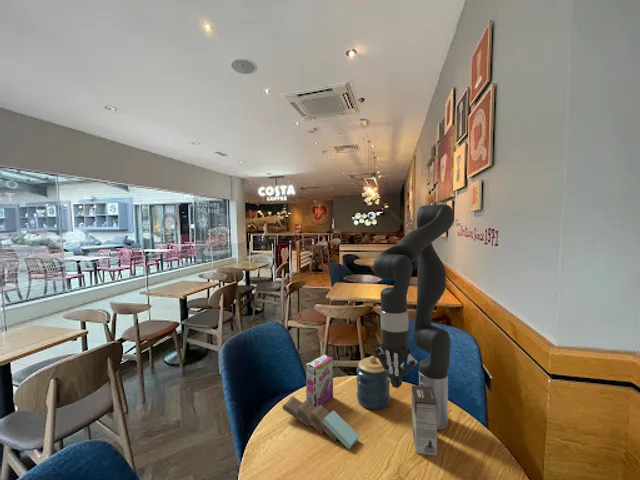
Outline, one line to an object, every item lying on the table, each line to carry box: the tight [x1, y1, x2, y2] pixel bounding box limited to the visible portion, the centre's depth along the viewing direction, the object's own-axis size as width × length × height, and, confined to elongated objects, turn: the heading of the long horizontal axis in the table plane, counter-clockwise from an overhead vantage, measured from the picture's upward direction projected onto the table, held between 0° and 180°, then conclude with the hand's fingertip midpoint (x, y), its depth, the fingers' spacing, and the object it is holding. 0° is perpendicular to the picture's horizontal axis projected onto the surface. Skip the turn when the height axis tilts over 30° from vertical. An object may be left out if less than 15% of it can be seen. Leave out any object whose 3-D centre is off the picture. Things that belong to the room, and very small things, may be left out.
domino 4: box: [323, 410, 360, 450], centre depth 89 cm, size 2×5×11 cm
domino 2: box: [297, 398, 325, 435], centre depth 95 cm, size 2×5×11 cm
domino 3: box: [310, 405, 339, 443], centre depth 92 cm, size 2×5×11 cm
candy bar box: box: [305, 354, 334, 408], centre depth 108 cm, size 11×5×16 cm, turn 139°
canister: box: [356, 355, 391, 411], centre depth 108 cm, size 13×13×18 cm
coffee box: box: [411, 384, 438, 457], centre depth 86 cm, size 9×6×16 cm
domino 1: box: [283, 395, 312, 428], centre depth 98 cm, size 2×5×11 cm
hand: (396, 386), depth 77 cm, fingers closed
